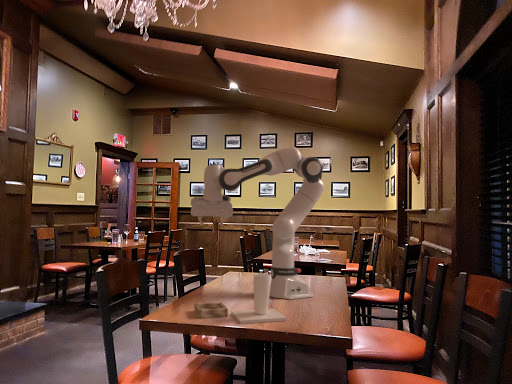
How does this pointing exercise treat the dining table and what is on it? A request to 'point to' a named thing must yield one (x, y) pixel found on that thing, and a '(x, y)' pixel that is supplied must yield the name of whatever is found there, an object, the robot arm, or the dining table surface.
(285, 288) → the robot arm
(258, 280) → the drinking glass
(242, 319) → the plate
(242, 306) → the dining table surface
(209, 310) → the wooden tray
